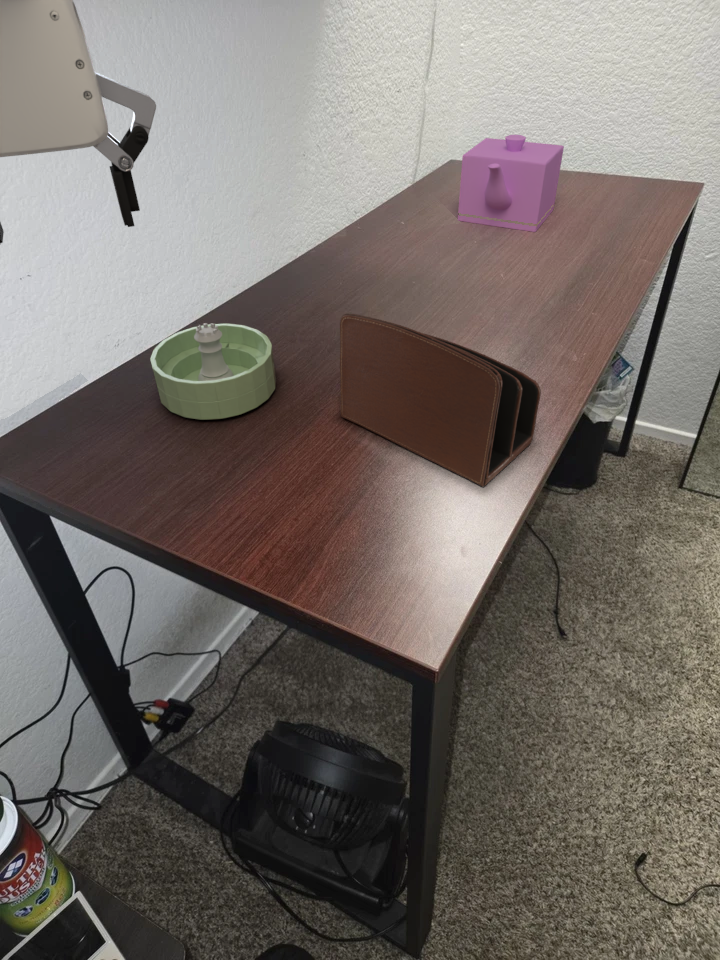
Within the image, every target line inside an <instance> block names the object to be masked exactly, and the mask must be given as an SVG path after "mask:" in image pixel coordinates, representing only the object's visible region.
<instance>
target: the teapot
mask: <svg viewBox="0 0 720 960" xmlns="http://www.w3.org/2000/svg"><path fill="white" fill-rule="evenodd" d="M504 138H505V139H501V138H493V137H492V138H491V137H485V138H484V139H483V140H481V141H480V142H479V143H477V144H475V145H474V146H473V147H472V148H470V149H469V150H468V151H467V152H465V153H463V155H462V156H461V157H462V160H461V171H460V173H461V174H460V185H459V198H458V209H457V211H458V212H457V221H458V222H465V223H472V224H477V225H483V226H484V225H485V226H492V227H498V228H505V229H512V230H518V231H526V232H532V233H536V232H537V231H538V230H539V229H540V227H541V226H542V225H543V224H544V223H545V222H546V220H547V219H548V218H549V217H550V215H551V214H552V213H553V212H554V208H555V202H556V198H557V197H556V196H557V190H558V184H559V179H560V172H561V166H562V160H563V155H564V149H565V147H564V145H560V144H552V143H551V144H550V143H542V142H531V141H526V139H527V137H526V136H524V135H522V134H508V135H506V136H505V137H504ZM553 204H554V206H553V207H552V208H551V206H552V205H553ZM550 208H551V210H550V211H549V212H548V213H547V214H546V216H545V217H544V218H543V219H542V220H541V218H542V217H543V216H544V215H545V213H546V212H547V211H548V210H549V209H550ZM458 213H461V214H469V215H476V216H482V217H489V218H497V219H503V220H511V221H518V222H524V223H533V224H537V223H538V222H539V221H540V220H541V222H540V223H539V224H538V225H537V227H536V226H529V225H522V224H515V223H508V222H501V221H494V220H487V219H480V218H473V217H466V216H459V215H458Z"/></svg>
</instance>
